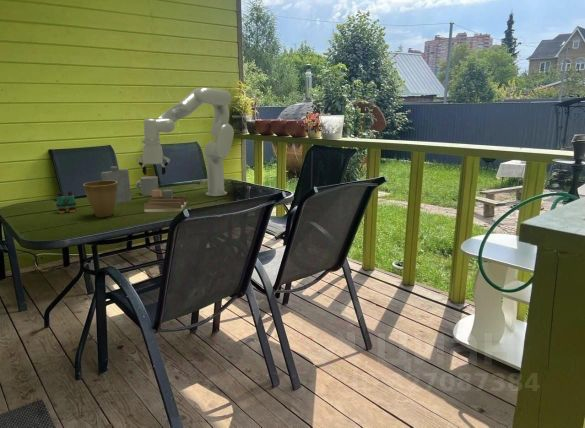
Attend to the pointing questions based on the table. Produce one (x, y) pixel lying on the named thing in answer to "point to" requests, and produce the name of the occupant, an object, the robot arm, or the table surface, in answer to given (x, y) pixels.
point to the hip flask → (119, 183)
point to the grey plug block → (167, 194)
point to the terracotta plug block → (156, 192)
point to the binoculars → (66, 202)
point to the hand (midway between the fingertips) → (154, 174)
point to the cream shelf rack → (165, 204)
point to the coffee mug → (147, 184)
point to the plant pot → (101, 196)
